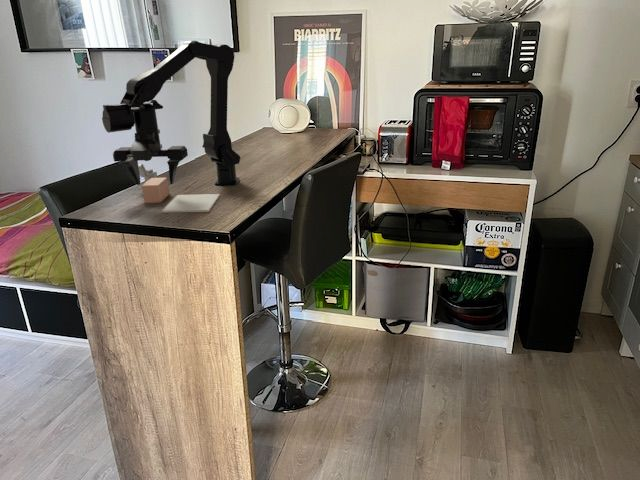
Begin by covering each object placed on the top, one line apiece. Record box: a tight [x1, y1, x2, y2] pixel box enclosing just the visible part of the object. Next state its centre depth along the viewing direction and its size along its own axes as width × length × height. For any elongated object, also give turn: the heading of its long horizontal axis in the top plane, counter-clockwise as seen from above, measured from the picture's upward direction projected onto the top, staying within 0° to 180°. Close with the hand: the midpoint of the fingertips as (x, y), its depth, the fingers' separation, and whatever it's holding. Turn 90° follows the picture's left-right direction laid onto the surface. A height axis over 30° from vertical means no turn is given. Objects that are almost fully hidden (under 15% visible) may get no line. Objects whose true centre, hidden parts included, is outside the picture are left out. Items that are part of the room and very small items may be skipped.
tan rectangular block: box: [141, 177, 170, 204], centre depth 140 cm, size 8×4×5 cm, turn 179°
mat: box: [161, 193, 221, 214], centre depth 135 cm, size 14×12×1 cm
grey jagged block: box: [138, 162, 158, 183], centre depth 150 cm, size 7×2×8 cm, turn 161°
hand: (155, 184), depth 139 cm, fingers open, 9 cm apart
